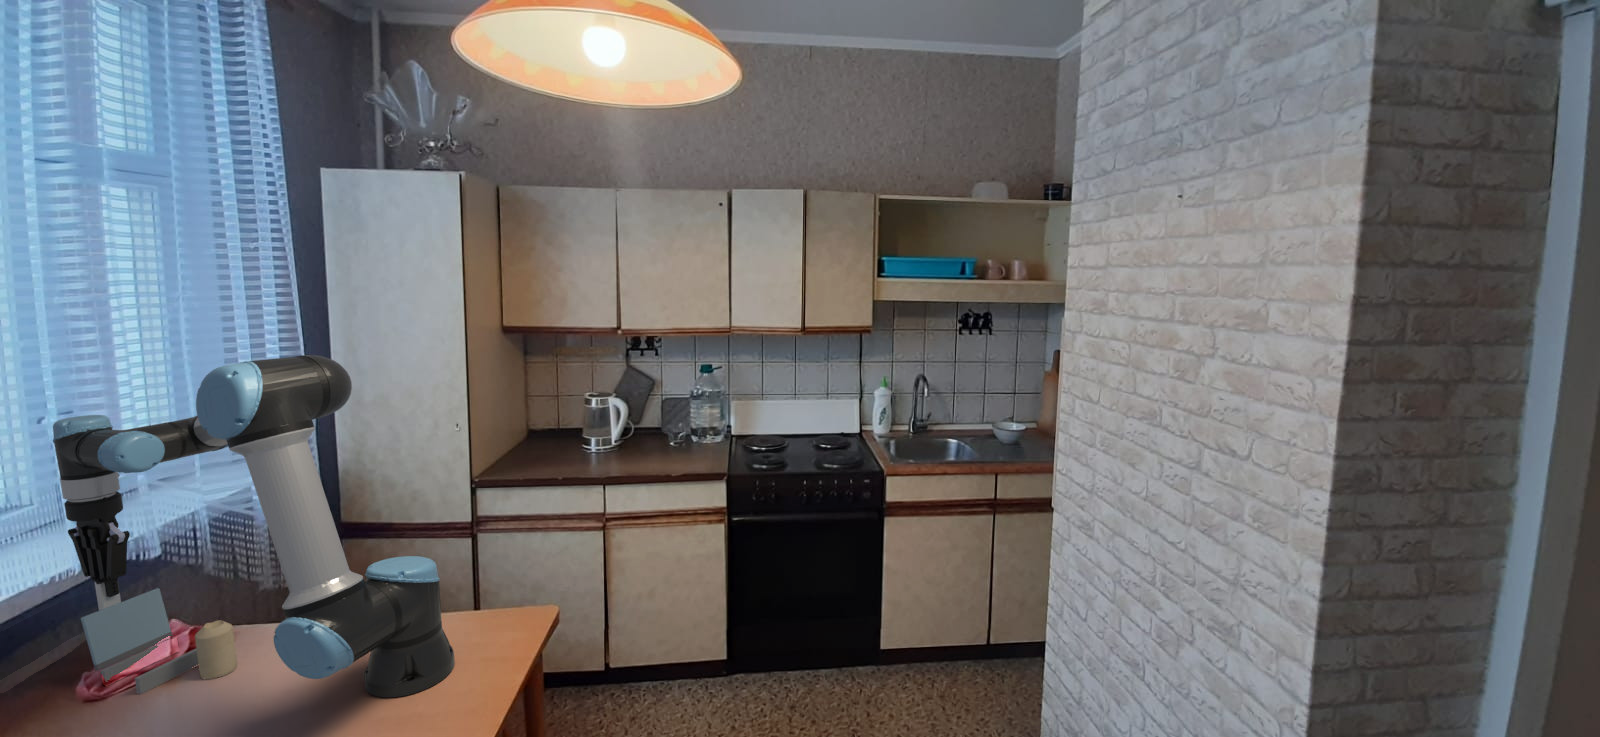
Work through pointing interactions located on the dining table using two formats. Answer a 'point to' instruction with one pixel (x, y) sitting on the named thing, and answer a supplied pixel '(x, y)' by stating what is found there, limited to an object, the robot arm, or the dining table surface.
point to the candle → (216, 649)
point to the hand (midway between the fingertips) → (110, 610)
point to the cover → (126, 628)
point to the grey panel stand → (155, 675)
